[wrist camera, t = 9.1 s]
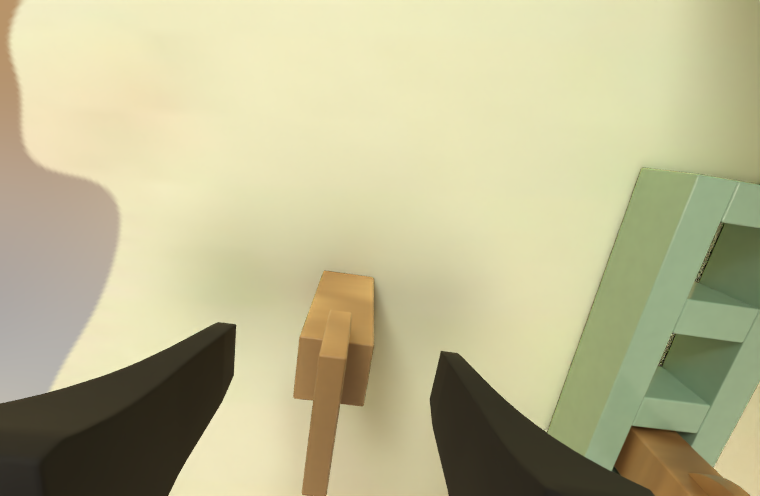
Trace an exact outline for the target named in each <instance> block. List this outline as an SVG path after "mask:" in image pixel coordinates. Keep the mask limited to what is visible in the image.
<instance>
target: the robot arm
mask: <svg viewBox="0 0 760 496" xmlns="http://www.w3.org/2000/svg"><path fill="white" fill-rule="evenodd" d="M235 338H236V324H228V323H220V322H218V323H215V324H213V325H211V326H209V327H207V328H205V329H204V330H202V331H200V332H198V333H196V334H194V335H192V336H191V337H189V338H187V339H185V340H183V341H181V342H179V343H177V344H175V345H173V346H171V347H170V348H167V349H165V350H163V351H161V352H159V353H157V354H155V355H153V356H151V357H148V358H146V359H144V360H142V361H140V362H137V363H135V364H133V365H130V366H128V367H126V368H123V369H120V370H118V371H115V372H112V373H110V374H107V375H104V376H101V377H98V378H95V379H92V380H89V381H86V382H83V383H79V384H76V385H73V386H70V387H67V388H63V389H60V390H56V391H52V392H48V393H45V394H41V395H37V396H32V397H28V398H24V399H20V400H15V401H11V402H6V403H1V404H0V496H168V495H169V493H170V491H171V489H172V487H173V485H174V483H175V480H176V478H177V476H178V474H179V473H180V471H181V469H182V467H183V466H184V464H185V462H186V460H187V459H188V457H189V455H190V454H191V452H192V450H193V449H194V447H195V446H196V444H197V442H198V441H199V439H200V437H201V436H202V434H203V432H204V431H205V429H206V428H207V426H208V424H209V423H210V421H211V419H212V418H213V416H214V414H215V413H216V411H217V409H218V408H219V406H220V404H221V403H222V401H223V398H224V396H225V394H226V392H227V390H228V387H229V385H230V383H231V380H232V378H233V376H234V358H235ZM430 406H431V416H432V425H433V430H434V434H435V439H436V443H437V447H438V451H439V456H440V460H441V464H442V468H443V472H444V476H445V480H446V485H447V489H448V494H449V496H655V495H654V494H653V493H652V491H651V490H650V489H648V488H646V487H643V486H641V485H639V484H637V483H635V482H633V481H631V480H629V479H627V478H625V477H622V476H620V475H618V474H616V473H614V472H612V471H610V470H608V469H606V468H604V467H602V466H601V465H599V464H597V463H595V462H593V461H592V460H590V459H588V458H586V457H584V456H583V455H581V454H579V453H578V452H576V451H574V450H572V449H571V448H569V447H568V446H566V445H565V444H563V443H561V442H560V441H558V440H557V439H555V438H554V437H552V436H551V435H549V434H548V433H546V432H545V431H544V430H542V429H541V428H539V427H538V426H537V425H535V424H534V423H533V422H531V421H530V420H529V419H528V418H526V417H525V416H524V415H522V414H521V413H520V412H519V411H518V410H516V409H515V408H514V407H513V406H512V405H511V404H509V403H508V402H507V401H506V400H505V399H504V398H503V397H502V396H501V395H499V394H498V393H497V392H496V391H495V390H494V389H493V388H492V387H491V386H490V385H489V384H488V383H487V382H486V381H485V380H484V379H483V378H482V377H481V376H480V375H479V374H478V373H477V372H476V371H475V370H474V369H473V368H472V367H471V366H470V365H469V364H468V363H467V362H466V361H465V360H464V359H463V358H462V357H461V356H460V355H459V354H458V353H452V352H444V351H441V353H440V358H439V362H438V366H437V371H436V375H435V379H434V383H433V388H432V392H431V396H430Z"/></svg>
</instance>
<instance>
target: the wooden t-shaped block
mask: <svg viewBox="0 0 760 496" xmlns="http://www.w3.org/2000/svg"><path fill="white" fill-rule="evenodd" d="M373 349H374V278H373V277H367V276H360V275H352V274H345V273H338V272H331V271H323V274H322V277H321V279H320V282H319V285H318V288H317V290H316V293H315V296H314V299H313V302H312V304H311V307H310V310H309V313H308V315H307V318H306V321H305V324H304V326H303V329H302V332H301V335H300V338H299V347H298V357H297V366H296V376H295V385H294V395H293V397H294V398H296V399H304V400H313V406H312V414H311V422H310V430H309V438H308V446H307V454H306V462H305V470H304V478H303V487H302V495H307V496H326V495H327V488H328V482H329V475H330V468H331V462H332V455H333V448H334V442H335V435H336V429H337V422H338V415H339V409H340V404H347V405H356V406H363V405H364V401H365V395H366V389H367V383H368V378H369V372H370V366H371V360H372V355H373Z"/></svg>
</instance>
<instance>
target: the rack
mask: <svg viewBox="0 0 760 496" xmlns="http://www.w3.org/2000/svg"><path fill="white" fill-rule="evenodd" d="M720 222H721V223H725V224H724V227H723V229H722V231H721V233H720V236H719V238H718V240H717V243H716V245H715V247H714V249H713V252H712V254H711V256H710V258H709V261H708V263H707V265H706V268H705V270H704V272H703V274H702V277H701V279H700V281H699V282H695V279H696V277H697V275H698V272H699V270H700V268H701V265H702V263H703V261H704V259H705V256H706V254H707V252H708V249H709V247H710V245H711V243H712V240H713V238H714V236H715V233H716V231H717V229H718V226H719V224H720ZM672 333H674V334H676V336H675V338H674V340H673V342H672V345H671V347H670V349H669V352H668V354H667V356H666V358H665V361H664V363H663V365H662V367H661V366H658V364H659V362H660V359H661V357H662V355H663V353H664V350H665V348H666V346H667V343H668V341H669V339H670V337H671V334H672ZM759 382H760V184H756V183H750V182H744V181H737V180H732V179H726V178H720V177H714V176H708V175H702V174H694V173H686V172H678V171H669V170H661V169H652V168H644V167H643V168H642V169H641V171H640V174H639V177H638V180H637V182H636V185H635V188H634V191H633V194H632V196H631V199H630V202H629V205H628V208H627V210H626V213H625V216H624V219H623V222H622V224H621V227H620V230H619V233H618V236H617V238H616V241H615V244H614V247H613V250H612V252H611V255H610V258H609V261H608V264H607V266H606V269H605V272H604V275H603V278H602V280H601V283H600V286H599V289H598V292H597V294H596V297H595V300H594V303H593V306H592V308H591V311H590V314H589V317H588V320H587V322H586V325H585V328H584V331H583V334H582V337H581V339H580V342H579V345H578V348H577V351H576V353H575V356H574V359H573V362H572V365H571V367H570V370H569V373H568V376H567V379H566V381H565V384H564V387H563V390H562V393H561V395H560V398H559V401H558V404H557V407H556V409H555V412H554V415H553V418H552V421H551V423H550V426H549V429H548V432H547V433H548V434H549V435H551V436H552V437H554V438H555V439H557V440H558V441H560V442H561V443H563V444H565V445H566V446H568V447H569V448H571V449H572V450H574V451H576V452H578V453H579V454H581V455H583V456H584V457H586V458H588V459H590V460H592V461H593V462H595V463H597V464H599V465H601V466H602V467H604V468H606V469H608V470H610V471H612V472H614V473H616V474H618V475H620V474H619V472H618V471H617V470H616V468H615V467H614V465H615V463H616V460H617V458H618V456H619V453H620V451H621V449H622V447H623V444H624V442H625V440H626V437H627V435H628V433H629V431H630V428H631V426H638V427H646V428H655V429H663V430H671V431H676V432H677V433H678V434H679V435H680V436H681V437H682V438H683V439H684V440H685V441H686V442H687V443H688V444H689V445H690V446H691V447H692V448H693V449H694V450H695V451H696V452H697V453H698V454H699V455H700V456H701V457H702V458H703V459H705V460H706V461H707V462H708V463H709V464H710V465H711V466H712V467H714V466H715V464H716V462H717V460H718V458H719V456H720V454H721V453H722V451H723V449H724V447H725V445H726V443H727V441H728V440H729V438H730V436H731V434H732V432H733V430H734V428H735V427H736V425H737V423H738V421H739V419H740V417H741V415H742V413H743V412H744V410H745V408H746V406H747V404H748V402H749V400H750V399H751V397H752V395H753V393H754V391H755V389H756V387H757V386H758V384H759ZM620 476H621V475H620Z"/></svg>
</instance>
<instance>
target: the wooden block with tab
mask: <svg viewBox="0 0 760 496" xmlns="http://www.w3.org/2000/svg"><path fill="white" fill-rule="evenodd" d="M614 467H615V468H616V470H617V471H618V472H619V474H620V475H621V476H622V477H625V478H627V479H629V480H631V481H633V482H635V483H637V484H639V485H641V486H643V487H646V488H648V489H650V490H651V491H652V493H653V494H654V495H655V496H750V495H749V494H748V493H747V492H746V491H745V490H743V489H742V488H740V487H739V486H738V485H736V484H734V483H733V482H731V481H729V480H727V479H725V478H723V477H722V476H721V475H720V474H719V473H718V472H717V471H716V470H715V469H714V468H713V467H712V466H711V465H710V464H709V463H708V462H707V461H706V460H705V459H703V458H702V457H701V456H700V455H699V454H698V453H697V452H696V451H695V450H694V449H693V448H692V447H691V446H690V445H689V444H688V443H687V442H686V441H685V440H684V439H683V438H682V437H681V436H680V435H679V434H678V433H677V432H676V431H671V430H663V429H655V428H646V427H638V426H631V428H630V431H629V433H628V435H627V437H626V440H625V442H624V444H623V447H622V449H621V451H620V453H619V456H618V458H617V460H616V463H615V465H614Z"/></svg>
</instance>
